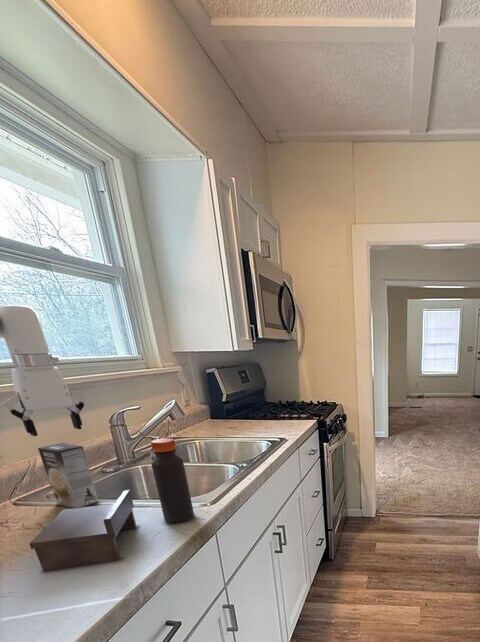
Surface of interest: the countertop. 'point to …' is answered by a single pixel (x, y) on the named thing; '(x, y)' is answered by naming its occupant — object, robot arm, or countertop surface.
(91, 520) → the shelf
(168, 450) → the bottle
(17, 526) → the countertop surface
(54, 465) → the coffee box
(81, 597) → the countertop surface
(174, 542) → the countertop surface
